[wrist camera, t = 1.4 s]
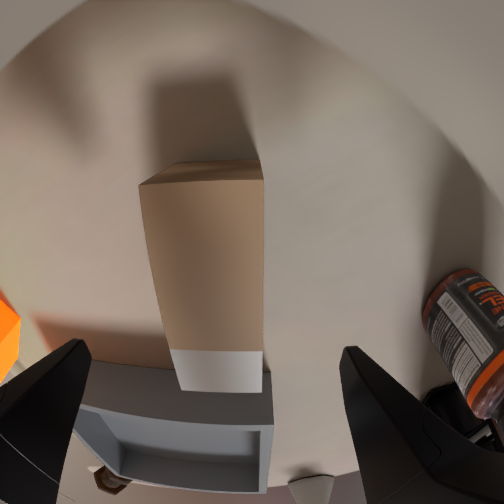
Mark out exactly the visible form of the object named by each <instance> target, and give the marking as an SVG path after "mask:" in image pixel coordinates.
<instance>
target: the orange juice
mask: <svg viewBox="0 0 504 504" xmlns="http://www.w3.org/2000/svg"><path fill="white" fill-rule="evenodd" d="M20 322H21V318H20V317H19V316H18V315H16V314H15V313H14V312H13V311H12V310H11V309H10V308H9V307H8V306H7V305H5V304H4V303H3V302H2V301H1V300H0V383H1V381H2V380H3V378H4V377H5V375H6V374H7V372H8V371H9V369H10V368H11V367H12V365H13V364H14V362H15V361H16V359H17V358H18V344H19V332H20Z"/></svg>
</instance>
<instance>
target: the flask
mask: <svg viewBox="0 0 504 504" xmlns="http://www.w3.org/2000/svg"><path fill="white" fill-rule="evenodd" d="M333 482H334V477H329V476H324V475H323V476H317V477H311V478H304V479H301V480H298V481H294V482H291V483H288V485H289V489H290V491H291V492H292V495H293V496H294V498H295V500H296V502H297V504H328V501H329V497H330V494H331V490H332V486H333Z"/></svg>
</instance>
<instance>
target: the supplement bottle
mask: <svg viewBox="0 0 504 504" xmlns="http://www.w3.org/2000/svg"><path fill="white" fill-rule="evenodd" d="M422 320H423V327H424V329H425V331H426V333H427V334H428V336H429V338H430V340H431V341H432V343H433V344H434V346H435V348H436V349H437V351H438V352H439V354H440V356H441V357H442V359H443V361H444V362H445V364H446V366H447V367H448V369H449V371H450V372H451V374H452V376H453V378H454V379H455V381H456V383H457V385H458V387H459V388H460V390H461V392H462V394H463V396H464V398H465V399H466V400H467V403H468V405H469V407H470V408H471V410H472V412H473V413H474V415H475V416H476V417H478V418H481V419H489V418H492V419H495V420H497V422H498V423H497V427H498V428H499V429H500V431H501V433H502V435H503V437H504V296H503V295H502V294H501V292H499V291H498V290H497V289H496V288H495V287H494V286H493V285H492V284H491V283H490V282H489V281H488V280H487V279H485V278H484V277H483V276H482V275H480V274H479V273H478V272H476V271H475V270H472V269H462V270H459V271H456V272H454V273H452V274H450V275H449V276H447V277H446V278H445V279H444V280H443V281H442V282H441V283H439V285H438V286H437V287H436V288H435V289H434V291H433V292H432V294H431V295H430V297H429V298H428V300H427V302H426V305H425V308H424V311H423V318H422Z"/></svg>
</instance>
